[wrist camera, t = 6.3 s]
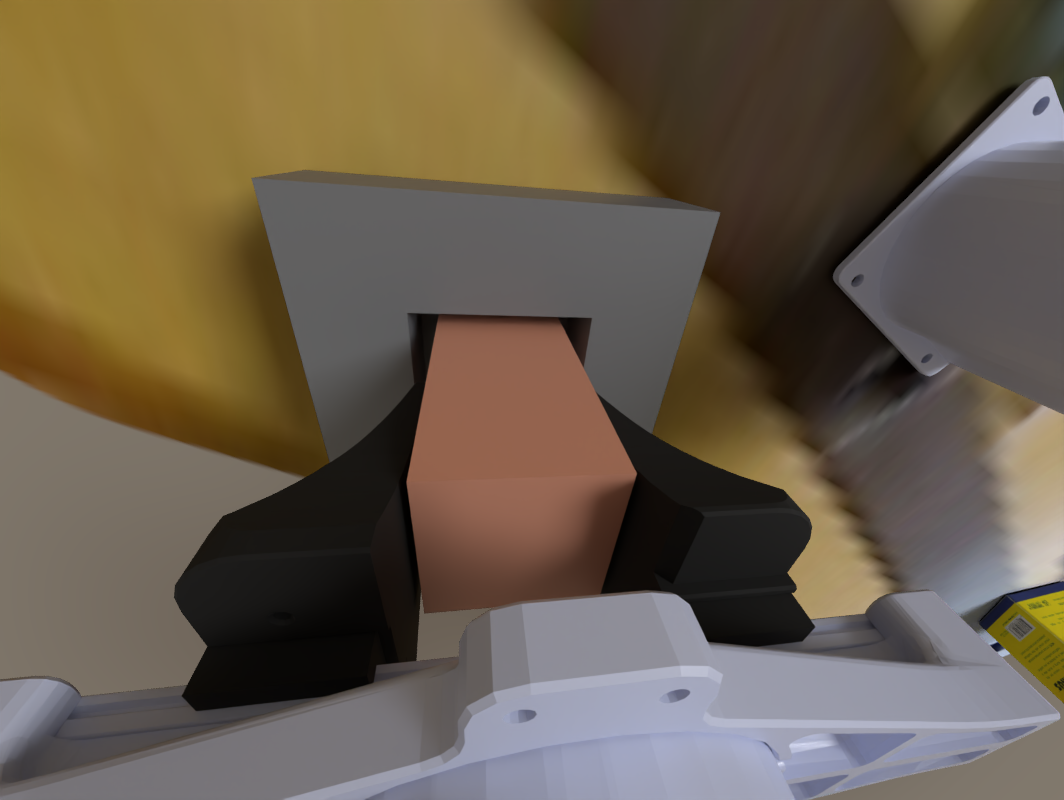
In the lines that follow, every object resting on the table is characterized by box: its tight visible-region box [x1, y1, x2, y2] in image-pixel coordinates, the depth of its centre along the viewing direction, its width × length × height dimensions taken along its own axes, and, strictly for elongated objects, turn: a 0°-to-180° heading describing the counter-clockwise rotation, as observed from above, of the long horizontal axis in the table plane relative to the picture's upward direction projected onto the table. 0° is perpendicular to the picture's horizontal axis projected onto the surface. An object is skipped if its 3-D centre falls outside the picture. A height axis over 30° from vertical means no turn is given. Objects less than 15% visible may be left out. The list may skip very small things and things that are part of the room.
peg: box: [407, 314, 637, 613], centre depth 11 cm, size 4×4×8 cm
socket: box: [252, 170, 720, 462], centre depth 15 cm, size 12×12×4 cm
